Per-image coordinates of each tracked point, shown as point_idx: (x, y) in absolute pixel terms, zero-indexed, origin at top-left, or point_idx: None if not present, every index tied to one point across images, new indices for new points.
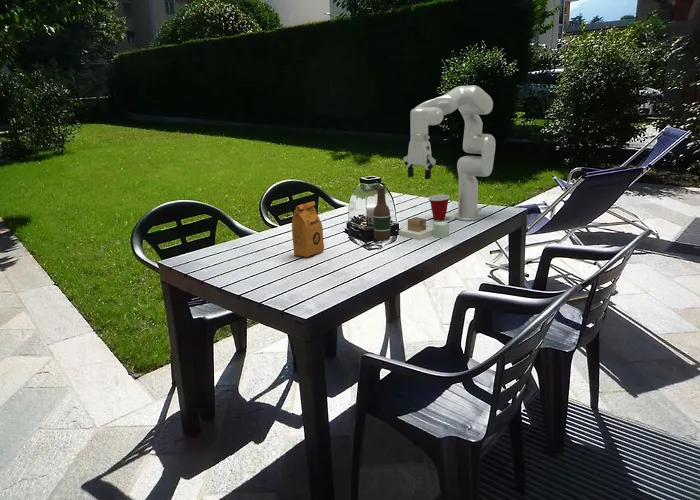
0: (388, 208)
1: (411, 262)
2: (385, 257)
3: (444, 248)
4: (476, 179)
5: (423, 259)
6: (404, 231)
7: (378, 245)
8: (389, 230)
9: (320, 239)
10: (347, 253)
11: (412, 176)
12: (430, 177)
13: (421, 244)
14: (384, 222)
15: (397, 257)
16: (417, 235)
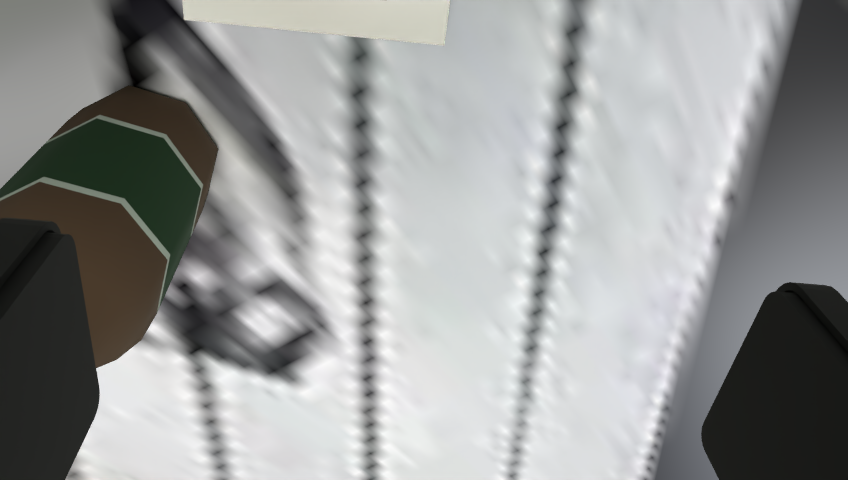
0: (100, 272)
1: (621, 404)
2: (454, 414)
3: (721, 116)
4: None
5: (663, 346)
6: (259, 23)
7: (264, 289)
8: (198, 172)
9: None
10: (232, 461)
11: (63, 255)
12: (834, 302)
13: (519, 121)
14: (173, 269)
15: (513, 387)
16: (425, 40)
